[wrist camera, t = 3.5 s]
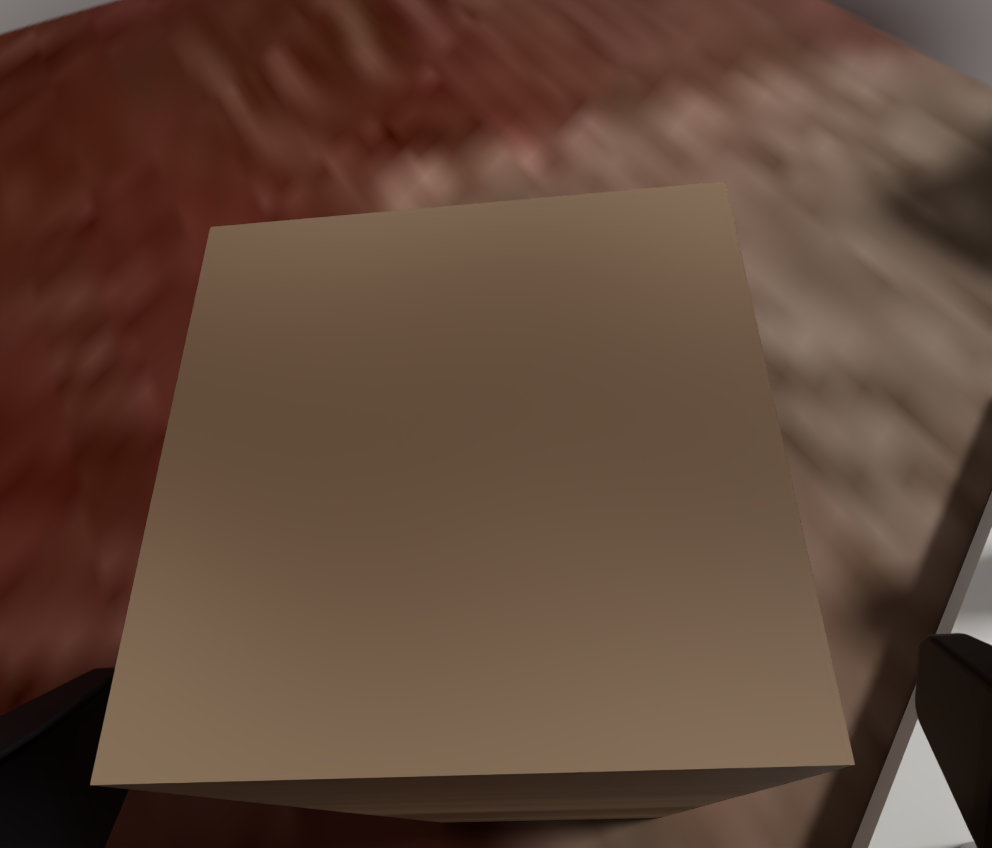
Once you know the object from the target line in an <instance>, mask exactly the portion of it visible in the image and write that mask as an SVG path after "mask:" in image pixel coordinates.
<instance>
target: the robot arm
mask: <svg viewBox="0 0 992 848" xmlns="http://www.w3.org/2000/svg"><path fill="white" fill-rule="evenodd" d="M114 671H115V668H97V669H93V670H91V671H89V672H87V673H85V674H83V675H81V676H79V677H77V678H75V679H73V680H71V681H69V682H67V683H65V684H63V685H61V686H59V687H57V688H55V689H53V690H51V691H49V692H47V693H45V694H43V695H41V696H39V697H37V698H35V699H33V700H31V701H29V702H27V703H25V704H23V705H22V706H20V707H18V708H16V709H14V710H12V711H10V712H8V713H6V714H4V715H2V716H0V848H104V847H105V845H106V843H107V840H108V838H109V836H110V833H111V831H112V828H113V826H114V824H115V821H116V819H117V816H118V814H119V812H120V809H121V807H122V804H123V802H124V800H125V797H126V795H127V793H128V790H129V789H122V788H112V787H103V786H93V785H90V783H91V778H92V773H93V769H94V764H95V759H96V755H97V750H98V745H99V741H100V736H101V732H102V727H103V722H104V718H105V713H106V708H107V704H108V699H109V695H110V690H111V685H112V681H113V676H114ZM915 708H916V713H917V717H918V720H919V723H920V725H921V727H922V729H923V732H924V734H925V736H926V738H927V740H928V742H929V745H930V747H931V749H932V751H933V753H934V756H935V758H936V760H937V762H938V764H939V766H940V769H941V771H942V773H943V775H944V777H945V780H946V782H947V784H948V786H949V788H950V790H951V793H952V795H953V797H954V799H955V801H956V804H957V806H958V808H959V810H960V812H961V814H962V817H963V819H964V821H965V823H966V825H967V828H968V830H969V832H970V834H971V836H972V838H973V840H974V842H975V844H976V846H977V848H992V645H990V644H988V643H986V642H983V641H981V640H979V639H977V638H974V637H972V636H970V635H967V634H963V633H948V634H930V635H927V636H925V637H924V638H923V639H922V641H921V643H920V647H919V655H918V667H917V678H916V690H915Z"/></svg>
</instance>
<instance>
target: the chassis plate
mask: <svg viewBox="0 0 992 848" xmlns="http://www.w3.org/2000/svg"><path fill="white" fill-rule="evenodd" d="M948 633H963V634H967V635H970V636H972V637H974V638H977V639H979V640H981V641H983V642H986V643H988V644H990V645H992V492H991V495H990V497H989V500H988V502H987V505H986V507H985V510H984V512H983V515H982V518H981V520H980V523H979V525H978V528H977V530H976V533H975V535H974V538H973V540H972V543H971V545H970V548H969V551H968V553H967V556H966V558H965V561H964V563H963V566H962V568H961V571H960V573H959V576H958V578H957V581H956V584H955V586H954V589H953V591H952V594H951V596H950V599H949V601H948V604H947V606H946V609H945V611H944V614H943V617H942V619H941V622H940V624H939V627H938V629H937V632H936V634H948ZM915 690H916V685H915V688H914V690H913V693H912V695H911V698H910V700H909V703H908V705H907V708H906V710H905V713H904V715H903V718H902V721H901V723H900V726H899V728H898V731H897V733H896V736H895V738H894V741H893V743H892V746H891V748H890V751H889V754H888V756H887V759H886V761H885V764H884V766H883V769H882V771H881V774H880V776H879V779H878V781H877V784H876V787H875V789H874V792H873V794H872V797H871V799H870V802H869V804H868V807H867V809H866V812H865V814H864V817H863V820H862V822H861V825H860V827H859V830H858V832H857V835H856V837H855V840H854V842H853V845H852V847H851V848H977V846H976V844H975V842H974V840H973V838H972V836H971V834H970V832H969V830H968V828H967V825H966V823H965V821H964V819H963V817H962V814H961V812H960V810H959V808H958V806H957V804H956V801H955V799H954V797H953V795H952V793H951V790H950V788H949V786H948V784H947V782H946V780H945V777H944V775H943V773H942V771H941V769H940V766H939V764H938V762H937V760H936V758H935V756H934V753H933V751H932V749H931V747H930V745H929V742H928V740H927V738H926V736H925V734H924V732H923V729H922V727H921V725H920V723H919V720H918V717H917V713H916V708H915Z"/></svg>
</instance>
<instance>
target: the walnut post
mask: <svg viewBox="0 0 992 848" xmlns="http://www.w3.org/2000/svg"><path fill="white" fill-rule="evenodd" d="M853 765H855V763H854V758H853V754H852V749H851V745H850V740H849V736H848V731H847V727H846V722H845V718H844V713H843V709H842V704H841V700H840V695H839V691H838V686H837V682H836V677H835V673H834V668H833V664H832V659H831V655H830V650H829V646H828V641H827V637H826V632H825V628H824V623H823V619H822V614H821V610H820V605H819V601H818V596H817V592H816V587H815V583H814V578H813V574H812V569H811V565H810V561H809V556H808V552H807V547H806V543H805V538H804V534H803V529H802V525H801V520H800V516H799V511H798V507H797V502H796V498H795V493H794V489H793V484H792V480H791V475H790V471H789V466H788V462H787V457H786V453H785V448H784V444H783V439H782V435H781V430H780V426H779V421H778V417H777V412H776V408H775V403H774V399H773V394H772V390H771V385H770V381H769V376H768V372H767V367H766V363H765V358H764V354H763V349H762V345H761V340H760V336H759V331H758V327H757V322H756V318H755V313H754V309H753V304H752V300H751V295H750V291H749V286H748V282H747V277H746V273H745V268H744V264H743V259H742V255H741V250H740V246H739V241H738V237H737V232H736V228H735V223H734V219H733V214H732V210H731V205H730V201H729V196H728V192H727V187H726V183H725V182H714V183H702V184H691V185H680V186H669V187H657V188H646V189H635V190H624V191H612V192H601V193H590V194H579V195H567V196H556V197H545V198H534V199H522V200H511V201H500V202H489V203H477V204H466V205H455V206H443V207H432V208H421V209H410V210H398V211H387V212H376V213H365V214H353V215H342V216H331V217H320V218H308V219H297V220H286V221H275V222H263V223H252V224H241V225H230V226H218V227H210V232H209V236H208V241H207V246H206V250H205V255H204V259H203V264H202V269H201V273H200V278H199V283H198V287H197V292H196V296H195V301H194V306H193V310H192V315H191V320H190V324H189V329H188V333H187V338H186V343H185V347H184V352H183V357H182V361H181V366H180V371H179V375H178V380H177V384H176V389H175V394H174V398H173V403H172V408H171V412H170V417H169V421H168V426H167V431H166V435H165V440H164V445H163V449H162V454H161V458H160V463H159V468H158V472H157V477H156V482H155V486H154V491H153V496H152V500H151V505H150V509H149V514H148V519H147V523H146V528H145V533H144V537H143V542H142V546H141V551H140V556H139V560H138V565H137V570H136V574H135V579H134V583H133V588H132V593H131V597H130V602H129V607H128V611H127V616H126V620H125V625H124V630H123V634H122V639H121V644H120V648H119V653H118V658H117V662H116V667H115V671H114V676H113V681H112V685H111V690H110V695H109V699H108V704H107V708H106V713H105V718H104V722H103V727H102V732H101V736H100V741H99V745H98V750H97V755H96V759H95V764H94V769H93V773H92V778H91V783H90V785H93V786H103V787H112V788H122V789H131V790H141V791H150V792H159V793H169V794H178V795H188V796H197V797H206V798H216V799H225V800H235V801H244V802H254V803H263V804H272V805H282V806H291V807H301V808H310V809H319V810H329V811H338V812H348V813H357V814H367V815H376V816H385V817H395V818H404V819H414V820H423V821H432V822H442V823H444V822H491V821H538V820H585V819H632V818H661V817H664V816H668V815H672V814H675V813H679V812H683V811H687V810H690V809H694V808H698V807H701V806H705V805H709V804H712V803H716V802H720V801H723V800H727V799H731V798H735V797H738V796H742V795H746V794H749V793H753V792H757V791H760V790H764V789H768V788H771V787H775V786H779V785H783V784H786V783H790V782H794V781H797V780H801V779H805V778H808V777H812V776H816V775H819V774H823V773H827V772H831V771H834V770H838V769H842V768H845V767H849V766H853Z"/></svg>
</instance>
